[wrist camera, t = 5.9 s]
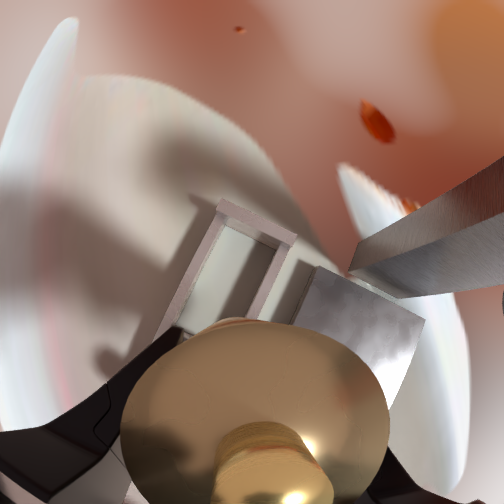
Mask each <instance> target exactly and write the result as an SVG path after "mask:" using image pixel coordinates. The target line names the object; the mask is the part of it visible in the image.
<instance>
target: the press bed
mask: <svg viewBox="0 0 504 504" xmlns="http://www.w3.org/2000/svg"><path fill="white" fill-rule="evenodd" d="M348 273H350V274H351V275H353V276H355V277H357V278H359V279H361V280H363V281H365V282H367V283H369V284H371V285H373V286H375V287H377V288H379V289H381V290H382V291H384V292H386V293H388V294H390V295H392V296H394V297H396V298H398V299H402V298H411V297H419V296H428V295H436V294H443V293H451V292H458V291H464V290H471V289H478V288H484V287H490V286H495V285H501V284H504V156H503V157H502V158H500V159H498V160H497V161H496V162H494V163H492V164H491V165H489V166H488V167H486V168H485V169H483V170H481V171H480V172H478V173H477V174H475V175H474V176H472V177H470V178H469V179H467V180H466V181H464V182H462V183H461V184H459V185H458V186H456V187H454V188H453V189H451V190H449V191H448V192H446V193H445V194H443V195H441V196H439V197H438V198H436V199H434V200H433V201H431V202H429V203H428V204H426V205H424V206H423V207H421V208H419V209H418V210H416V211H414V212H412V213H411V214H409V215H407V216H405V217H404V218H402V219H400V220H399V221H397V222H395V223H393V224H392V225H390V226H388V227H386V228H384V229H383V230H381V231H379V232H377V233H376V234H374V235H372V236H370V237H368V238H366V239H365V240H363V241H361V242H359V243H358V245H357V248H356V251H355V254H354V257H353V259H352V262H351V265H350V267H349V270H348ZM502 304H503V314H504V293H503V301H502ZM424 323H425V319H423V318H422V317H420V316H418V315H416V314H414V313H412V312H410V311H408V310H406V309H404V308H402V307H400V306H398V305H396V304H395V303H393V302H391V301H389V300H387V299H385V298H383V297H381V296H379V295H377V294H375V293H373V292H371V291H369V290H367V289H365V288H363V287H361V286H359V285H357V284H355V283H353V282H351V281H349V280H347V279H345V278H343V277H341V276H339V275H337V274H335V273H333V272H331V271H329V270H327V269H325V268H323V267H321V266H317V267H315V268H314V269H313V272H312V274H311V276H310V279H309V281H308V283H307V286H306V288H305V290H304V293H303V295H302V297H301V299H300V302H299V304H298V306H297V308H296V310H295V313H294V315H293V317H292V319H291V321H290V323H289V325H293V326H297V327H301V328H305V329H309V330H313V331H316V332H318V333H321V334H323V335H326V336H328V337H331V338H332V339H334V340H336V341H338V342H340V343H341V344H343V345H345V346H346V347H348V348H349V349H350V350H352V351H353V352H354V353H355V354H357V355H358V356H359V357H360V358H361V359H362V360H363V361H364V362H365V363H366V364H367V365H368V366H369V368H370V369H371V370H372V372H373V373H374V375H375V376H376V378H377V379H378V381H379V383H380V385H381V387H382V389H383V391H384V394H385V397H386V401H387V404H388V409H389V408H390V406H391V404H392V402H393V400H394V398H395V396H396V394H397V391H398V389H399V387H400V385H401V383H402V380H403V378H404V376H405V373H406V371H407V369H408V366H409V364H410V361H411V359H412V356H413V354H414V351H415V349H416V346H417V343H418V340H419V338H420V335H421V332H422V329H423V326H424Z"/></svg>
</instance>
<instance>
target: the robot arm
mask: <svg viewBox="0 0 504 504" xmlns="http://www.w3.org/2000/svg"><path fill="white" fill-rule="evenodd" d="M183 335H184V329H183V328H181V327H178V326H171V327H170V328H169V329H168V330H166V331H165V332H164V333H163V334H162V335H161V336H159V337H158V338H157V339H156V340H155V341H154V342H153V343H151V344H150V345H149V346H148V347H147V348H146V349H144V350H143V351H142V352H141V353H140V354H139V355H138V356H136V357H135V358H134V359H133V360H132V361H131V362H129V363H128V364H127V365H126V366H125V367H124V368H122V369H121V370H120V371H119V372H118V373H117V374H116V375H114V376H113V377H112V378H111V379H110V380H109V381H107V384H106V383H105V384H104V385H103V386H102V387H100V388H99V389H98V390H97V391H96V392H94V393H93V394H92V395H91V396H89V397H88V398H87V399H85V400H84V401H82V402H81V403H79V404H78V405H76V406H75V407H73V408H72V409H70V410H69V411H67V412H66V413H64V414H62V415H61V416H59V417H58V418H56V419H54V420H53V421H51V422H49V423H47V424H45V425H43V426H39V427H35V428H28V429H21V430H13V431H4V432H0V504H122V503H123V501H124V498H125V496H126V493H127V491H128V488H129V486H130V483H131V481H132V479H131V477H130V475H129V473H128V471H127V469H126V466H125V463H124V460H123V456H122V451H121V444H120V425H121V420H122V415H123V410H124V408H125V405H126V402H127V400H128V397H129V395H130V393H131V392H132V390H133V388H134V386H135V385H136V383H137V381H138V380H139V379H140V378H141V377H142V375H143V374H144V373H145V372H146V370H147V369H148V368H149V367H150V366H151V365H153V364H154V363H155V362H156V361H157V360H158V359H159V358H160V357H161V356H163V355H164V354H166V353H167V352H169V351H170V350H172V349H173V348H174V347H176V346H177V345H179V344H181V343H182V342H183ZM353 504H462V503H457V502H454V501H452V500H449V499H446V498H444V497H441V496H439V495H436V494H434V493H431V492H429V491H426V490H424V489H423V488H421V487H420V486H418V485H417V484H416V483H415V482H414V481H413V479H412V478H411V477H410V475H409V474H408V473H407V472H406V470H405V469H404V468H403V466H402V465H401V464H400V462H399V461H398V460H397V458H396V457H395V455H394V454H393V453H392V451H391V450H390V448H389V447H388V446H387V449H386V453H385V456H384V459H383V461H382V464H381V466H380V468H379V470H378V472H377V474H376V475H375V477H374V479H373V480H372V482H371V483H370V485H369V486H368V487H367V489H366V490H365V491H364V492H363V494H362V495H361V496H360V497H359V498H358V499H357V500H356V501H355V502H354V503H353ZM467 504H485V503H484V502H482V501H480V500H478V499H477V500H474V501H472V502H470V503H467Z"/></svg>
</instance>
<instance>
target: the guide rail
mask: <svg viewBox="0 0 504 504" xmlns="http://www.w3.org/2000/svg"><path fill="white" fill-rule="evenodd" d="M215 210H216V215H215V217H214V219H213V221H212V223H211V225H210V227H209V228H208V230H207V232H206V234H205V236H204V238H203V240H202V242H201V244H200V245H199V247H198V249H197V251H196V253H195V255H194V257H193V259H192V261H191V263H190V265H189V267H188V269H187V271H186V273H185V275H184V277H183V279H182V280H181V282H180V284H179V286H178V289H177V291H176V293H175V295H174V297H173V299H172V301H171V303H170V305H169V307H168V309H167V311H166V313H165V315H164V317H163V319H162V321H161V324H160V326H159V328H158V330H157V332H156V334H155V336H154V338H153V341H152V343H153V342H154V341H155V340H156V339H157V338H158V337H159V336H161V335H162V334H163V333H164V332H165V331H166V330H168V329H169V328H170V327H171V326H175V324H176V322H177V320H178V318H179V316H180V314H181V312H182V310H183V308H184V306H185V303H186V301H187V299H188V297H189V295H190V293H191V291H192V289H193V287H194V285H195V283H196V281H197V279H198V277H199V275H200V273H201V271H202V269H203V267H204V265H205V263H206V261H207V260H208V258H209V256H210V254H211V252H212V250H213V248H214V246H215V244H216V242H217V240H218V238H219V236H220V234H221V232H222V231H223V229H224V227H225V225H226V226H228V227H230V228H232V229H234V230H236V231H238V232H241V233H243V234H245V235H247V236H249V237H251V238H253V239H255V240H257V241H259V242H261V243H263V244H265V245H267V246H270V247H272V248H274V249H276V252H275V254H274V256H273V258H272V260H271V262H270V265H269V267H268V269H267V271H266V273H265V275H264V277H263V279H262V282H261V284H260V286H259V288H258V290H257V292H256V294H255V296H254V298H253V300H252V303H251V305H250V307H249V309H248V311H247V313H246V315H245V318H251V319H256V320H257V318H258V316H259V314H260V311H261V309H262V307H263V305H264V303H265V301H266V299H267V297H268V295H269V292H270V290H271V288H272V286H273V284H274V282H275V280H276V277H277V275H278V273H279V271H280V269H281V267H282V264H283V262H284V260H285V258H286V256H287V253H288V251H289V249H290V248H291V247H292V246H293V244H294V242H295V239H296V237H297V234H295V233H293V232H291V231H289V230H287V229H285V228H283V227H281V226H279V225H277V224H275V223H273V222H271V221H268V220H266V219H264V218H262V217H260V216H258V215H256V214H254V213H252V212H250V211H248V210H245V209H243V208H241V207H239V206H237V205H235V204H233V203H230V202H228V201H226V200H224V199H222V198H221V200H220V202H219V204H218V205H217V207H216V209H215Z"/></svg>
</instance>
